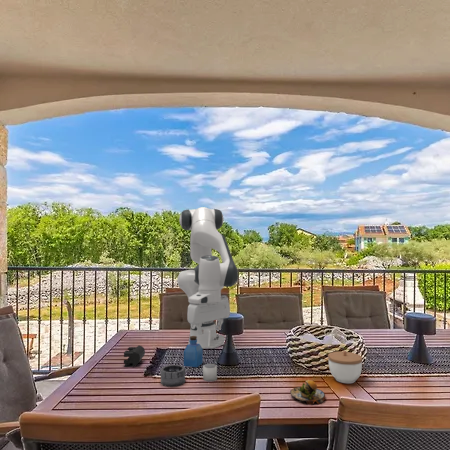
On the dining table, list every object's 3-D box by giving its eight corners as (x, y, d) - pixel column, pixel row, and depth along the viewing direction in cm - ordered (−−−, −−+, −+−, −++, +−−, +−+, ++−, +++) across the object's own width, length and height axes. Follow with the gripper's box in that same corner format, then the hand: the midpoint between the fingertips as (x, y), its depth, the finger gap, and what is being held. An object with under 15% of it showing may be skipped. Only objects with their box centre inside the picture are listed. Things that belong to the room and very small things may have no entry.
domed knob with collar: (174, 375, 149) (174, 363, 149) (189, 381, 142) (189, 368, 143) (155, 382, 142) (155, 368, 142) (170, 388, 136) (170, 374, 136)
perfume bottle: (183, 365, 161) (183, 337, 162) (189, 361, 167) (189, 334, 167) (196, 367, 159) (196, 339, 160) (202, 363, 165) (202, 335, 165)
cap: (210, 375, 149) (210, 362, 149) (219, 378, 145) (219, 365, 146) (200, 379, 145) (200, 365, 146) (209, 382, 142) (209, 368, 142)
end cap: (139, 367, 160) (139, 351, 160) (123, 367, 160) (123, 351, 160) (145, 360, 170) (145, 345, 170) (129, 360, 170) (129, 345, 170)
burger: (292, 389, 135) (291, 368, 135) (325, 393, 132) (325, 372, 132) (288, 403, 123) (287, 380, 124) (324, 407, 120) (324, 384, 120)
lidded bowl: (325, 374, 150) (324, 346, 150) (356, 374, 149) (355, 346, 150) (333, 386, 137) (332, 355, 138) (367, 386, 137) (366, 356, 137)
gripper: (222, 293, 156) (222, 326, 156) (184, 298, 142) (184, 335, 141) (233, 294, 152) (233, 329, 151) (195, 300, 137) (195, 338, 137)
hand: (209, 332), depth 146 cm, fingers open, 8 cm apart
